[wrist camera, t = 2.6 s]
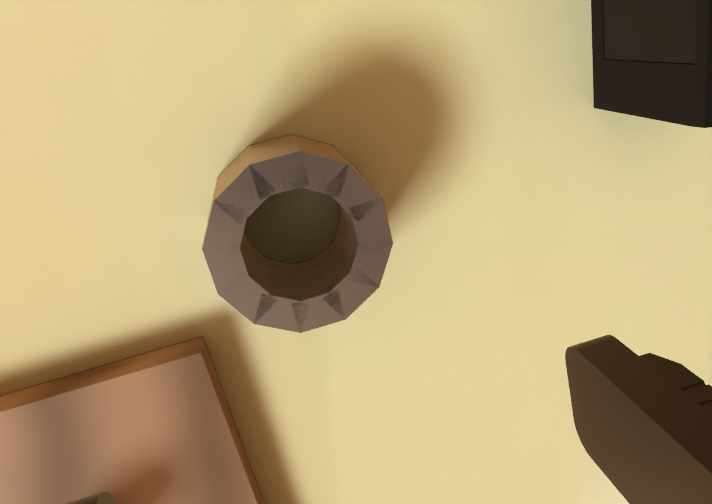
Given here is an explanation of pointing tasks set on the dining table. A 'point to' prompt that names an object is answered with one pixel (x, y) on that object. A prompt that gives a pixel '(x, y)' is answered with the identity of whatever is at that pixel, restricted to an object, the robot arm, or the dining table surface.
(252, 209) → the steel ring
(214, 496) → the shaft stand
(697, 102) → the digital camera
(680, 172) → the dining table surface
